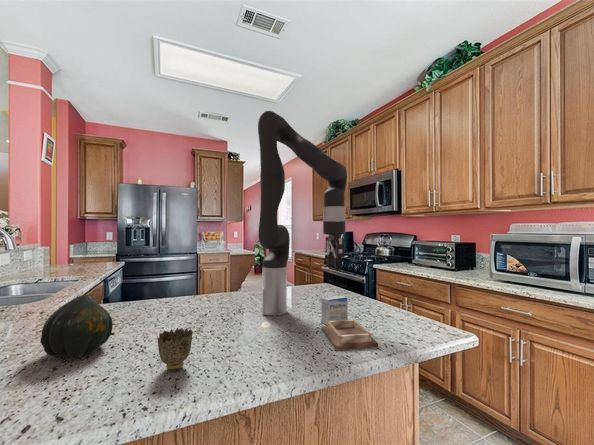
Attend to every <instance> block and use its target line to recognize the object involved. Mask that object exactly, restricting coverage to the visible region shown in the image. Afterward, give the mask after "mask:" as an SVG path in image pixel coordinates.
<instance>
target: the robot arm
mask: <svg viewBox="0 0 594 445" xmlns="http://www.w3.org/2000/svg"><path fill="white" fill-rule="evenodd" d="M257 122H258V123H257V132H258V141H259V142H258V143H259V155H260V156H259V157H260V160H259V161H260V177H259V178H260V182H259V183H260V211H259V212H260V213H259V222H258V223H259V224H258V233H257V234H258V236H257V237H258V242H259V244H260V245H261V247H262V248H263V249H265V250H268V252H267V255H266V256H265V257H264V258H263V259H262V265H261V267H262V274H261V275H262V276H261V277H262V279H261V280H262V282H261V284H262V286H261V312H262V315H263V316H281V315H284V314H286V313H287V311H288V310H287V308H288V304H287V300H288V298H287V296H288V293H287V292H288V291H287V290H288V286H287V284H288V282H287V281H288V280H287V279H288V277H287V276H288V275H287V274H288V272H287V271H288V260H289V257H290V242H291V241H290V240H291V239H290V238H291V237H290V232H289V230H288V228H287V227H286V226H285V225H282V224H278V210H279V206H280V204H281V202H282V199H283V196H284V194H285V189H286V182H285V181H286V176H285V175H286V174H285V173H286V172H285V168H284V165H283V162H282V159H281V157H280V153H279V150H278V142H279V143H281V144H283V145H284V146H286V147H288V148H289V149H290V150H291V151H292V152H293V153H294V155H295V156H297V158H298V159H300V160H301V161H302V162H303V163H304V164H306V165H307V166H308V167H309V168H312V169H313V171H314V172H316V173H317V174H318V175H319V177H321V178H322V179H323V180H325V181H326V182H327V190H325V191H324V194H323V212H322V215H323V216H322V233H323V234H324V235H328V236H325V245H324V246H325V247H324V248H325V251H324V252H325V254H326V257H327V266H328V267H329V268H330V267H331V268H332V267H334V270H335V271H342V270H343V258H345V256H346V254H345V252H346V251H345V238H344V237H341V236H342V235H345V234H346V210H345V209H346V208H345V192H346V186H347V182H348V172H347V169H346V167H345V165H344V164H342V163H340V162H338V161H336V160H335V159H333V158H331V157H330V156H329V155H327V154H326V152H325V151H323V150H322V149H321V148H319V147H318V146H317V145H315V143H313V142H311V141H310V140H308V139H307V138H305V137H303V136H302V135H301V134H299V133H298V132H297V131H296V130H295V129H294V128H293V127H292V126H291V125H290V124H289V122H287V121H286V119H285V118H284V117H283V116H281V115H279V114H278V113H276V112H274V111H272V110H264V111H263V112H262V113H261V114H260V116H259V118H258V121H257Z"/></svg>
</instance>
